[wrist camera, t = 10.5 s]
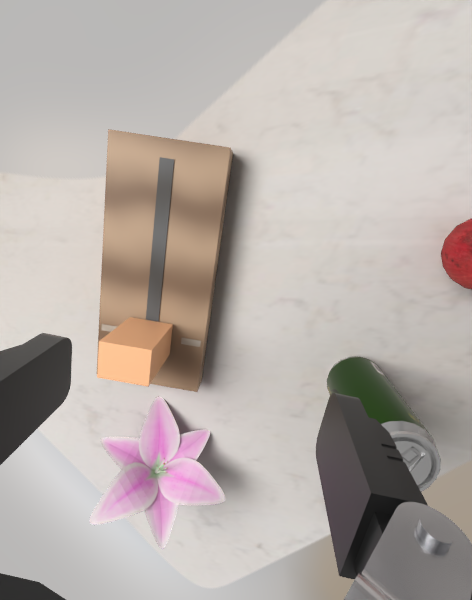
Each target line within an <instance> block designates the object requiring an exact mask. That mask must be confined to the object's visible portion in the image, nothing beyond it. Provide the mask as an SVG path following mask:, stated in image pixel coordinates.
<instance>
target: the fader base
mask: <svg viewBox="0 0 472 600" xmlns="http://www.w3.org/2000/svg"><path fill="white" fill-rule="evenodd" d="M232 158H233V152H232V150H231V148H228V147H222V146H215V145H209V144H202V143H195V142H189V141H182V140H175V139H169V138H161V137H155V136H149V135H142V134H136V133H129V132H122V131H116V130H108V149H107V171H106V190H105V211H104V232H103V253H102V274H101V295H100V316H99V337H98V352H99V341H100V340H101V339H102V338H104V337H105V336H106V335H108V334H109V333H110V332H111V331H113V330H114V329H115V328H117V327H118V326H119V325H120V324H122V323H123V322H124V321H126V320H127V319H128V318H129V317H133V318H139V319H145V320H150V321H156V322H162V323H168V324H173V328H172V337H171V347H170V355H169V356H168V358H167V359H166V361H165V362H164V364H163V365H162V367H161V368H160V370H159V371H158V373H157V374H156V376H155V377H154V379H153V380H152V382H151V383H150V384H155V385H161V386H166V387H172V388H178V389H183V390H189V391H195V392H197V391H198V389H199V386H200V383H201V380H202V374H203V367H204V360H205V353H206V346H207V338H208V331H209V324H210V317H211V309H212V302H213V295H214V288H215V281H216V273H217V266H218V259H219V252H220V245H221V237H222V230H223V223H224V216H225V208H226V201H227V194H228V187H229V180H230V172H231V165H232ZM97 373H98V358H97Z"/></svg>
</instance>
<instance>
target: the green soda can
mask: <svg viewBox="0 0 472 600" xmlns="http://www.w3.org/2000/svg"><path fill="white" fill-rule="evenodd" d="M327 388H328V391H329V393H330V396H331V394H332V393H337V394H342V395H346V396H351V397H356V398H359V399H360V400H361V402H362V405H363V407H364V409H365V411H366V413H367V415H368V417H369V418H373V419H376V420H377V421H378V422H379V423H380V424H381V425H382V426H383V427H384V428H385V429H386V430H387V431H388V432H389V433H390V435H391V437H392V439H393V441H394V442H395V444H396V446H397V450H399V452H400V454H401V456H402V458H403V462H405V463H406V465H407V467H408V469H409V471H410V473H411V474H412V476H413V478H414V480H415V482H416V484H417V486H418V488H419V490H420V491H421V492H422V491H423V490H425V489H427V488H428V487H429V486H430V485H431V484H432V483H433V482H434V481H435V480H436V478H437V476H438V474H439V471H440V462H441V459H440V457H439V454H438V451H437V449H436V446H435V443H434V440H433V438H432V437H431V435H430V434H429V433H428V431H427V430H426V429H425V427H424V426H423V425H422V424H421V422H420V421H419V420H418V418H417V417H416V416H415V414H414V413H413V412H412V410H411V409H410V408H409V406H408V405H407V404H406V403H405V401H404V400H403V399H402V397H401V396H400V395H399V393H398V392H397V391H396V389H395V388H394V387H393V385H392V384H391V383H390V382H389V380H388V379H387V378H386V376H385V375H384V374H383V372H382V371H381V370H380V369H379V367H378V366H377V365H376V364H375V363H374V362H372V361H370V360H369V359H366V358H361V357H348V358H345V359H342V360H340V361H339V362H338V363H336V364H335V365H334V366H333V368H332V369H331V371H330V372H329V375H328V378H327Z"/></svg>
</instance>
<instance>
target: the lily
mask: <svg viewBox="0 0 472 600" xmlns="http://www.w3.org/2000/svg"><path fill="white" fill-rule="evenodd" d="M209 436H210V431H209V430H208V429H202V430H196V431H191V432H187V433H184V434H181V435H180V434H179V430H178V426H177V424H176V421H175V419H174V417H173V415H172V412H171V410H170V409H169V407H168V405H167V403H166V402H165V400H164V399H163V398H162V397H159V396H158V397H156V398H155V400H154V401H153V403H152V405H151V407H150V409H149V412H148V414H147V417H146V419H145V422H144V424H143V427H142V429H141V433H140V437H139V439H138V438H132V437H104V438H102V439H101V443H102V445H103V447H104V449H105V450H106V451H107V453H108V454H109V456H110V457H111V458H112V459H113V461H114V462H115V463H116V464H117V465H118V466H119V468H120V469H121V471H120V472H119V473H118V475H117V476H116V477H115V478H114V480H113V481H112V483H111V484H110V485H109V487H108V488H107V490H106V491H105V493H104V494H103V496H102V497H101V499H100V500H99V502H98V504H97V505H96V507H95V508H94V510H93V512H92V514H91V516H90V523H91V524H93V525H97V524H104V523H108V522H112V521H116V520H119V519H122V518H126V517H129V516H132V515H135V514H138V513H140V512H142V511H144V510H145V514H146V517H147V520H148V523H149V525H150V528H151V531H152V533H153V535H154V538H155V540H156V542H157V544H158V546H159V547H160V548H161V549H164V548H165V546H166V544H167V542H168V540H169V537H170V534H171V531H172V528H173V524H174V521H175V517H176V512H177V507H178V504H180V505H214V504H219V503H223V502H224V501H225V495H224V493H223V491H222V489H221V488H220V486H219V485H218V483H217V482H216V481H215V479H214V478H213V477H212V476H211V475H210V473H209V472H208V471H207V470H206V469H205V468H204V467H203V466H202V465H201V464H200V463H199V462H197V461H196V460H197V458H198V457H199V455H200V454H201V452H202V450H203V448H204V447H205V445H206V443H207V441H208V438H209Z"/></svg>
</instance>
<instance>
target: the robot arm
mask: <svg viewBox="0 0 472 600" xmlns="http://www.w3.org/2000/svg"><path fill="white" fill-rule="evenodd" d="M71 357H72V343H71V340H70V339H69V338H65V337H61V336H56V335H51V334H46V333H42V334H40V335H38V336H36V337H35V338H33V339H31V340H29V341H28V342H26V343H24V344H23V345H19V346H16V347H13V348H9V349H6V350H3V351H0V465H1V464H2V463H3V462H4V461H5V460H6V459H7V458H8V457H9V456H10V455H11V454H12V453H13V452H14V451H15V450H16V449H17V448H18V447H19V446H20V445H21V444H22V443H23V442H24V441H25V440H26V439H27V438H28V437H29V436H30V435H31V434H32V433H33V432H34V431H35V430H36V429H37V428H38V427H39V426H40V425H41V424H42V423H43V422H44V421H45V420H46V419H47V418H48V417H49V416H50V415H51V414H52V413H53V412H54V411H55V410H56V409H57V408H58V407H59V406H60V405H61V404H62V403H63V402H64V400H65V399H66V397H67V395H68V392H69V389H70V384H71ZM316 459H317V464H318V470H319V475H320V480H321V485H322V490H323V495H324V500H325V505H326V511H327V516H328V521H329V526H330V531H331V536H332V541H333V546H334V552H335V557H336V561H337V567H338V572H339V575H340V576H342V577H346V578H351V579H355V580H354V582H353V584H352V586H351V588H350V589H349V591H348V593H347V595H346V597H345V599H344V600H472V544H471V542H470V540H469V539H468V538H467V537H466V535H465V534H464V533H463V532H462V530H460V528H459V527H458V526H457V525H456V524H455V523H454V522H452V521H451V520H450V519H449V518H448V517H446V516H445V515H443V514H442V513H440V512H439V511H437V510H435V509H433V508H431V507H429V506H428V505H427V503H426V501H425V499H424V497H423V495H422V493H421V491H420V490H419V488H418V486H417V484H416V482H415V480H414V478H413V476H412V474H411V473H410V471H409V469H408V467H407V465H406V463H405V462H403V458H402V456H401V454H400V452H399V450H397V446H396V444H395V442H394V441H393V439H392V437H391V435H390V433H389V432H388V431H387V430H386V429H385V428H384V427H383V426H382V425H381V424H380V423H379V422H378V421H377V420H376V419H373V418H369V417H368V415H367V413H366V411H365V409H364V407H363V405H362V402H361V400H360V399H359V398H356V397H351V396H346V395H342V394H337V393H332V394H331V396H330V398H329V400H328V404H327V407H326V410H325V414H324V417H323V420H322V423H321V427H320V430H319V433H318V437H317V443H316ZM0 600H65V599H64V598H62V597H61V596H59V595H58V594H56V593H55V592H53V591H52V590H50V589H49V588H47V587H46V586H44V585H43V584H41V583H39V582H35V581H31V580H27V579H23V578H18V577H14V576H9V575H5V574H1V573H0Z"/></svg>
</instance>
